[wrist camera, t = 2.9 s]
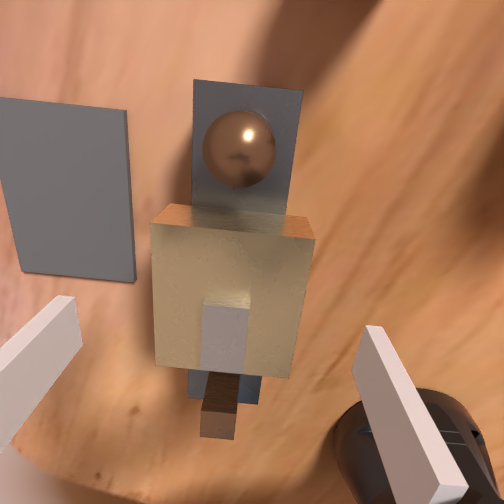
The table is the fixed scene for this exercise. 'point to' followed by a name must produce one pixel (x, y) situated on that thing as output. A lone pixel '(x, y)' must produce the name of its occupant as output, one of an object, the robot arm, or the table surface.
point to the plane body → (238, 198)
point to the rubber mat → (68, 188)
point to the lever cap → (228, 288)
